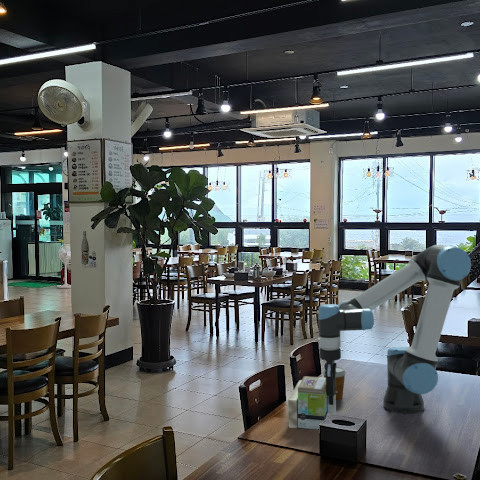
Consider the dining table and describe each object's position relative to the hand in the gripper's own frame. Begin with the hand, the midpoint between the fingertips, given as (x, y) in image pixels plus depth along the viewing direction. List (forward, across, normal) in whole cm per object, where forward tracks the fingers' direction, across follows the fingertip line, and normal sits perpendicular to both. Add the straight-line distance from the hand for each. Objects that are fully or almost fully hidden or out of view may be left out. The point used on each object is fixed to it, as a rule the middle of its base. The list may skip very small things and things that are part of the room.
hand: (332, 412), depth 199 cm
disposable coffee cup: (+4, -28, -2) cm, 28 cm away
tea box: (+4, 0, -6) cm, 8 cm away
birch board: (+4, -5, -13) cm, 14 cm away
